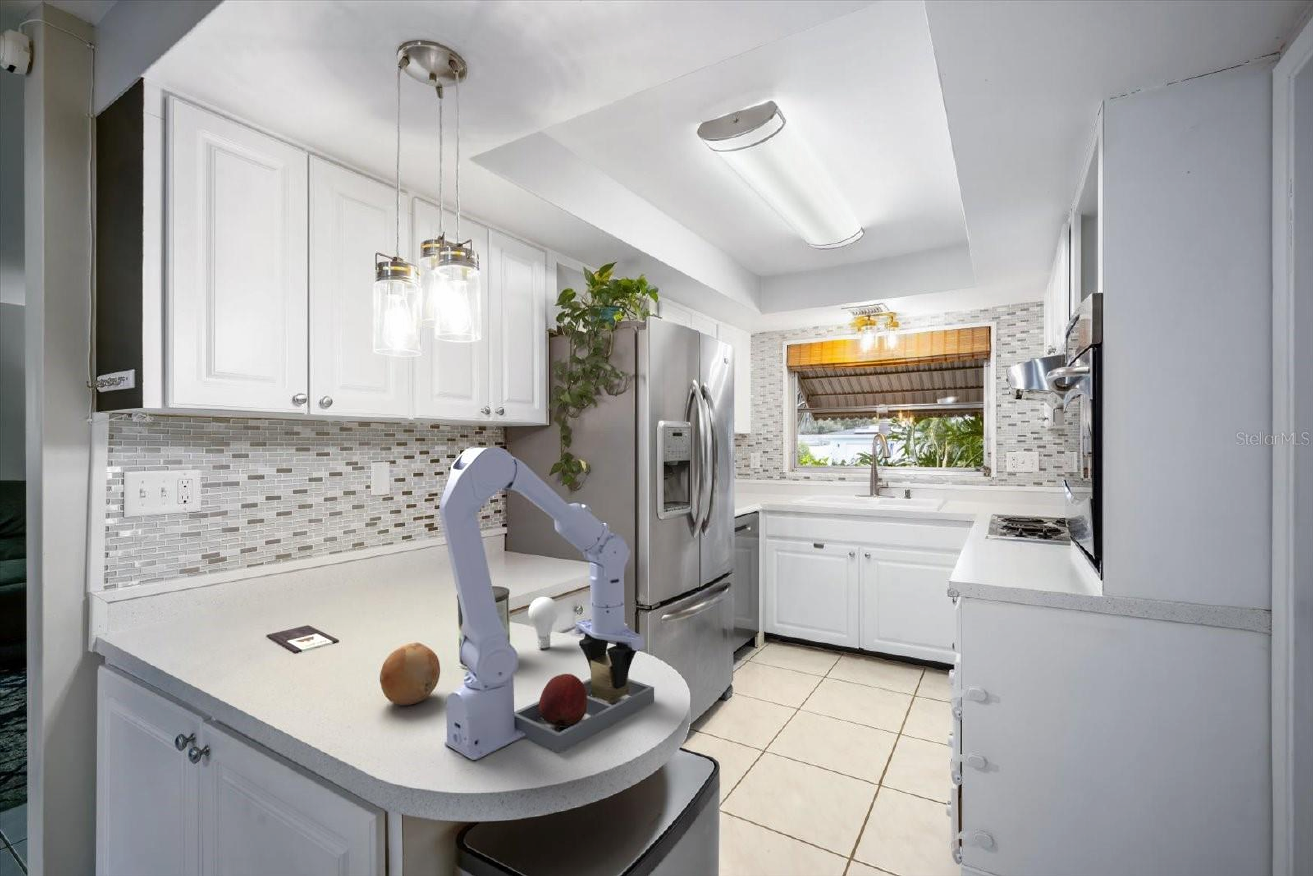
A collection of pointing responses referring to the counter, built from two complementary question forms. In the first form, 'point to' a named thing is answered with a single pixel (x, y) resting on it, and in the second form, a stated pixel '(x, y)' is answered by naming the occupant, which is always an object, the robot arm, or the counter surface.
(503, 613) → the coffee can
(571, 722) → the apple
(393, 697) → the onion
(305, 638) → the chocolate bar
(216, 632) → the counter surface
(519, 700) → the counter surface
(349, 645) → the counter surface
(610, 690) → the wooden block
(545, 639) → the lightbulb
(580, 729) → the grey divided tray
